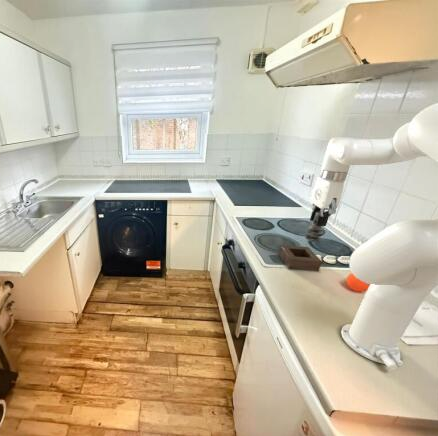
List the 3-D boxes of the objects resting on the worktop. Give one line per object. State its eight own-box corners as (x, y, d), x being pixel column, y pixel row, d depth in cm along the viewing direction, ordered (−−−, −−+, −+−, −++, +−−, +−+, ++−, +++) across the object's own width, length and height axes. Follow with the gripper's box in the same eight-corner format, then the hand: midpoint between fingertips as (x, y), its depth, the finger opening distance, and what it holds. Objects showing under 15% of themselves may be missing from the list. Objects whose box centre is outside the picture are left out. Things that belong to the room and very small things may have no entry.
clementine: (342, 280, 95) (347, 265, 92) (364, 285, 92) (371, 270, 89) (345, 291, 89) (351, 275, 86) (369, 298, 85) (376, 282, 83)
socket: (318, 271, 100) (322, 261, 98) (288, 269, 102) (291, 259, 100) (305, 256, 111) (308, 247, 109) (278, 254, 113) (280, 245, 111)
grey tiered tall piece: (314, 234, 94) (323, 206, 89) (325, 242, 89) (335, 212, 84) (300, 235, 94) (308, 206, 89) (310, 242, 89) (319, 212, 84)
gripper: (309, 169, 90) (297, 214, 97) (334, 181, 74) (318, 232, 82) (330, 170, 89) (316, 215, 96) (361, 181, 74) (341, 234, 81)
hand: (317, 222), depth 89 cm, fingers closed on grey tiered tall piece, 3 cm apart
